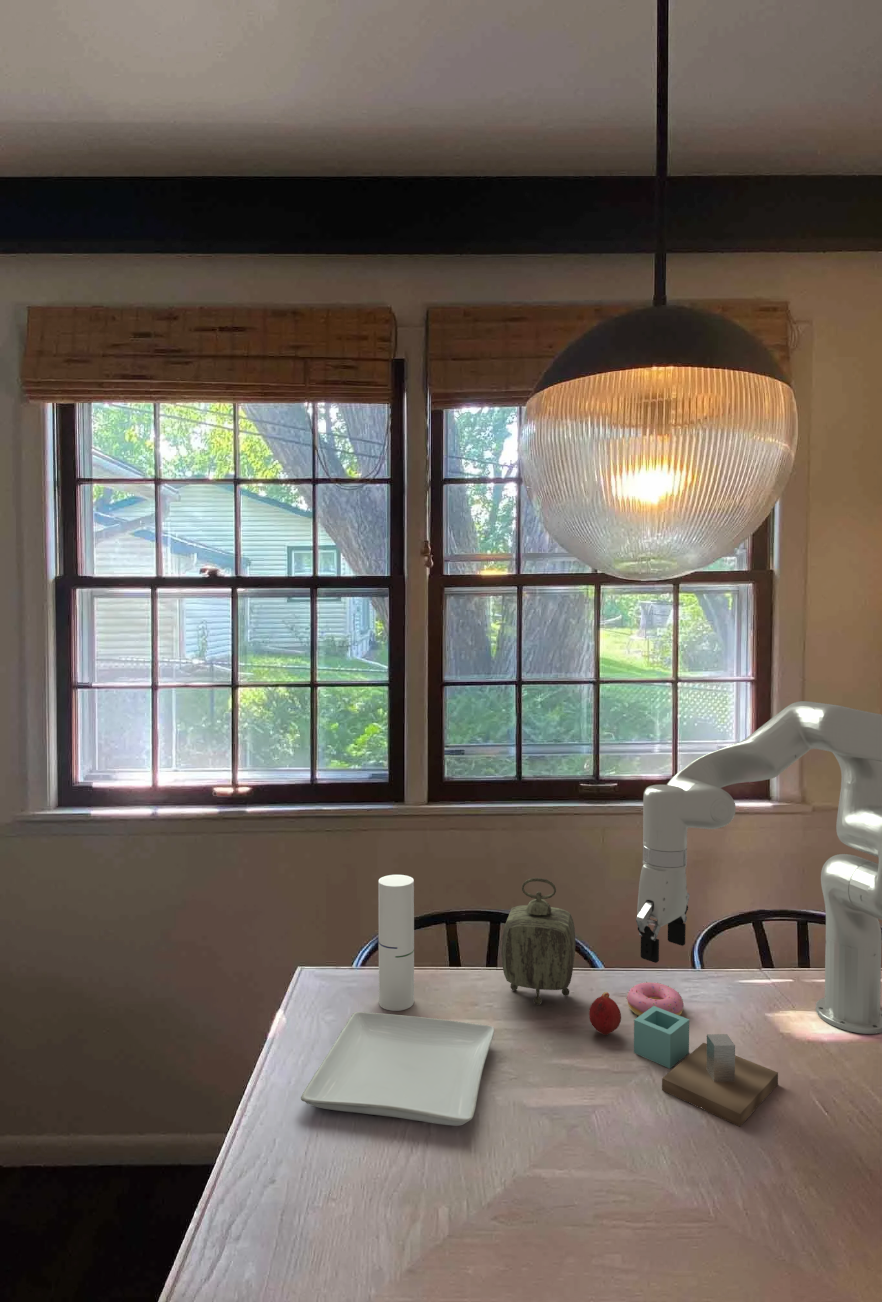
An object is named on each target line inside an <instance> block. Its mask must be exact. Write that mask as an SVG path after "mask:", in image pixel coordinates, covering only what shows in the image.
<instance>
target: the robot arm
mask: <svg viewBox="0 0 882 1302" xmlns="http://www.w3.org/2000/svg"><path fill="white" fill-rule="evenodd" d="M815 749H816V750H821V751H826V752H830V753H832V754H833V756H834V757H835V759H836V761H837V763H838V765H839V768H840V773H841V774H840V776H841V780H840V793H839V799H838V807H837V815H836V824H835V825H836V826H835V829H836V830H835V831H836V835H837V838H838V840H839V841H840V842H841V843H842V844H844V845H845V846H847V847H849V848H851V849H853V850H855V851H859V852H861V853H864V854H867V855H870V856H873V857H876V858H878V863H877V862H875V861H872V860H869V859H867V858H864V857H860V856H857V855H854V854H849V853H848V854H847V853H840V854H839V853H838V854H835V855H833V856H831V857H829V858H828V859H827V860H826V861H825V863H823V865H822V868H821V871H820V886H821V891H822V896H823V901H824V907H825V909H824V910H825V953H824V954H825V957H824V958H825V959H824V960H825V962H824V965H825V966H824V997H822V998H820V999H818V1000H817V1001H816V1003H815V1012H816V1014H817V1016H818V1017H819V1018H820V1019H821V1020H823V1021H824V1022H826V1023H827V1024H829V1025H831V1026H834V1027H835V1028H837V1029H841V1030H843V1031H847V1032H851V1033H857V1034H862V1035H863V1034H864V1035H875V1034H876V1035H878V1034H880V1033H882V1009H881V985H882V983H881V979H882V977H881V975H882V927H881V924H880V921H879V920H881V921H882V714H880V713H875V712H871V711H865V710H861V709H856V708H851V707H847V706H843V705H838V704H831V703H823V702H815V701H809V700H808V701H807V700H806V701H805V700H803V701H801V700H799V701H796V702H793V703H790V704H789V705H787V706H786V707H785V708H783V709H782V710H780V712H778V713H776V714H775V715H774V716H773V717H771V718H770V719H768V721H767V722H765V723H763V724H762V725H761V726H760V727H758V729H756V730H755V731H754V732H752V733H751V734H749V735H748V736H747V737H745V738H744V739H743V740H741V741H739V742H736V743H734V744H729V745H727V746H725V747H722V748H719V749H717V750H714V751H712V752H709V753H707V754H704V755H702V756H700V757H698V758H696V759H695V760H692V762H690V763H689V764H687V765H686V766H685V767H683V768H682V769H681V770H679V771H678V772H677V773H676V774H674V775H673V776H672V777H671V779H670V780H669V781H668V782H667V783H666V784H653V785H649V786H647V787H645V789H644V791H643V798H642V800H643V802H642V803H643V804H642V805H643V806H642V807H643V808H642V809H643V811H642V812H643V813H642V819H643V820H642V864H643V865H642V866H641V871H640V876H639V883H638V892H637V893H638V894H637V895H638V896H637V914H636V915H637V916H636V918H635V921H636V925H637V931H638V932H639V933H638V934H639V937H640V958H641V959H643V960H646V961H649V962H652V963H655V964H657V963H658V962H659V960H660V939H658V935H659V932H660V930H661V928H662V927H663V926H666V925H667V942H669V943H673V944H675V945H678V946H682V947H683V946H685V945H686V931H687V930H686V929H687V928H686V926H687V925H686V923H687V921H688V917H687V912H688V910H689V901H690V893H689V892H688V887H687V886H688V885H687V872H686V870H687V869H686V868H687V867H688V866H687V865H688V864H687V863H688V829H689V828H691V829H693V828H694V829H704V830H705V829H706V830H717V829H720V828H724V827H726V826H727V825H729V824H730V823H731V822H732V821H733V819H734V818H735V815H736V810H737V807H736V802H735V800H734V799H733V797H732V795H731V794H730V793H729V792H728V791H726V790H724V789H723V788H724V787H727V786H730V785H735V784H740V783H753V782H762V781H766V780H771V779H774V778H777V777H778V776H780V774H782V773H783V772H784V771H785V770H787V769H788V768H790V766H793V764H794V763H795V762H797V761H798V760H799V759H800V758H802V757H803V756H804V755H805V754H807V753H808V752H809V751H810V750H815ZM654 919H655V920H654ZM649 925H650V926H653V929H652V928H651V927H650V926H649Z"/></svg>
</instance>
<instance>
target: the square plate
mask: <svg viewBox="0 0 882 1302" xmlns="http://www.w3.org/2000/svg"><path fill="white" fill-rule="evenodd" d="M494 1034H495V1027H494V1026H492V1025H489V1024H488V1025H487V1024H479V1023H472V1022H471V1023H470V1022H465V1021H459V1020H458V1021H457V1020H456V1021H455V1020H449V1019H442V1018H432V1017H424V1016H423V1017H422V1016H414V1015H403V1014H402V1015H401V1014H394V1013H393V1014H392V1013H391V1014H390V1013H380V1012H379V1013H377V1012H363V1011H355V1012H353V1013H352V1014H351V1015H350V1017H349V1019H348V1020H347V1021H346V1023H345V1024H344V1027H343V1028H342V1030H341V1032H340V1034H339V1035H338V1036H337V1037H336V1040H335V1041H334V1043H333V1045H332V1046H331V1048H330V1049H329V1051H328V1053H327V1054H326V1056H325V1057H324V1059H323V1061H322V1062H321V1063H320V1065H319V1067H318V1068H317V1069H316V1071H315V1073H314V1075H313V1076H312V1077H311V1079H310V1080H309V1082H308V1083H307V1086H306V1087H305V1088H304V1091H303V1093H302V1094H301V1096H300V1100H301V1101H302V1102H305V1103H306V1104H307V1105H310V1106H312V1107H316V1108H319V1109H324V1110H330V1111H331V1110H332V1111H338V1112H346V1113H356V1114H365V1115H374V1116H383V1117H389V1118H397V1119H398V1118H399V1119H405V1120H411V1121H417V1122H418V1121H419V1122H422V1123H423V1122H424V1123H431V1124H437V1125H442V1126H443V1125H445V1126H452V1127H454V1126H459V1127H460V1126H463V1125H465V1124H466V1123H468V1122H469V1121H471V1120H472V1119H473V1118H474V1115H475V1111H476V1107H477V1099H478V1096H479V1090H480V1085H481V1079H482V1074H483V1071H484V1067H485V1063H486V1059H487V1057H488V1053H489V1050H490V1048H491V1044H492V1041H493V1039H494Z"/></svg>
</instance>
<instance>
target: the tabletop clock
mask: <svg viewBox="0 0 882 1302" xmlns="http://www.w3.org/2000/svg"><path fill="white" fill-rule="evenodd" d="M533 882H541V883H546V884H547V885H550V886H551V887H552V889H553V892H552V893H550V894H547V895H546V894H545V895H542V892H541V891H540V890H539V891H536V894H532V893H529V892H527V891H526V890H525V886H526V885H527V884H529V883H533ZM521 891H522V893H524V895H526V897H528V898H531V900H530V901H529V902H528V904H524V905H516V906H514V907H511V909H510V912H509V914H508V915H507V916H508V917H507V918H506V920H505V921H506V922H505V924H504V927H503V931H502V938H501V939H502V940H501V948H500V949H501V951H500V952H501V962H502V970H503V975H504V978H505V980H506V982H508V983H510V987H509V988H510V989H511V990H512V991H517V990H518V988H519V987H520V988H521V987H522V988H527V989H532V990H535V996H534V997H533V1003H534V1004H535V1005H537V1006H539V1005H541V1003H542V997H540V992H541V991H559V990H560V991H561V994H562V995H563V996H564V997H568V996H569V995H570V989H569V986H570V983H571V981H572V977H573V972H574V971H573V970H574V964H575V962H574V961H575V955H576V954H575V953H576V944H577V943H576V942H577V941H576V929H575V923H574V918H573V916H572V914H571V913H570V912H569V911H567V910H566V909H563V908H559V907H554V906H551V905H550V904H549V903H548V901H546V900H548V899H550V898H552V897H554V896H555V895H556V893H557V887H556V886H555V884H554V883H553V882H552V881H551V880H548V879H546V878H542V877H531V878H529V879H526V880H525V881H524V882H523V883H522V885H521ZM540 990H541V991H540Z"/></svg>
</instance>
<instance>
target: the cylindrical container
mask: <svg viewBox="0 0 882 1302" xmlns="http://www.w3.org/2000/svg"><path fill="white" fill-rule="evenodd" d="M414 880H415V879H414V878H413V877H412V876H409V875H406V874H405V875H404V874H389V875H385V876H382V877H380V878H379V879H378V1005H379V1006H380V1007H381V1008H382V1009H384V1010H387V1011H393V1012H396V1011H397V1012H398V1011H399V1012H400V1011H404V1010H407V1009H409V1008H411V1007H412V1006H413V1005H414V1002H415V906H414V905H415V904H414V902H415V900H414V899H415V892H414V891H415V881H414Z"/></svg>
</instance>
